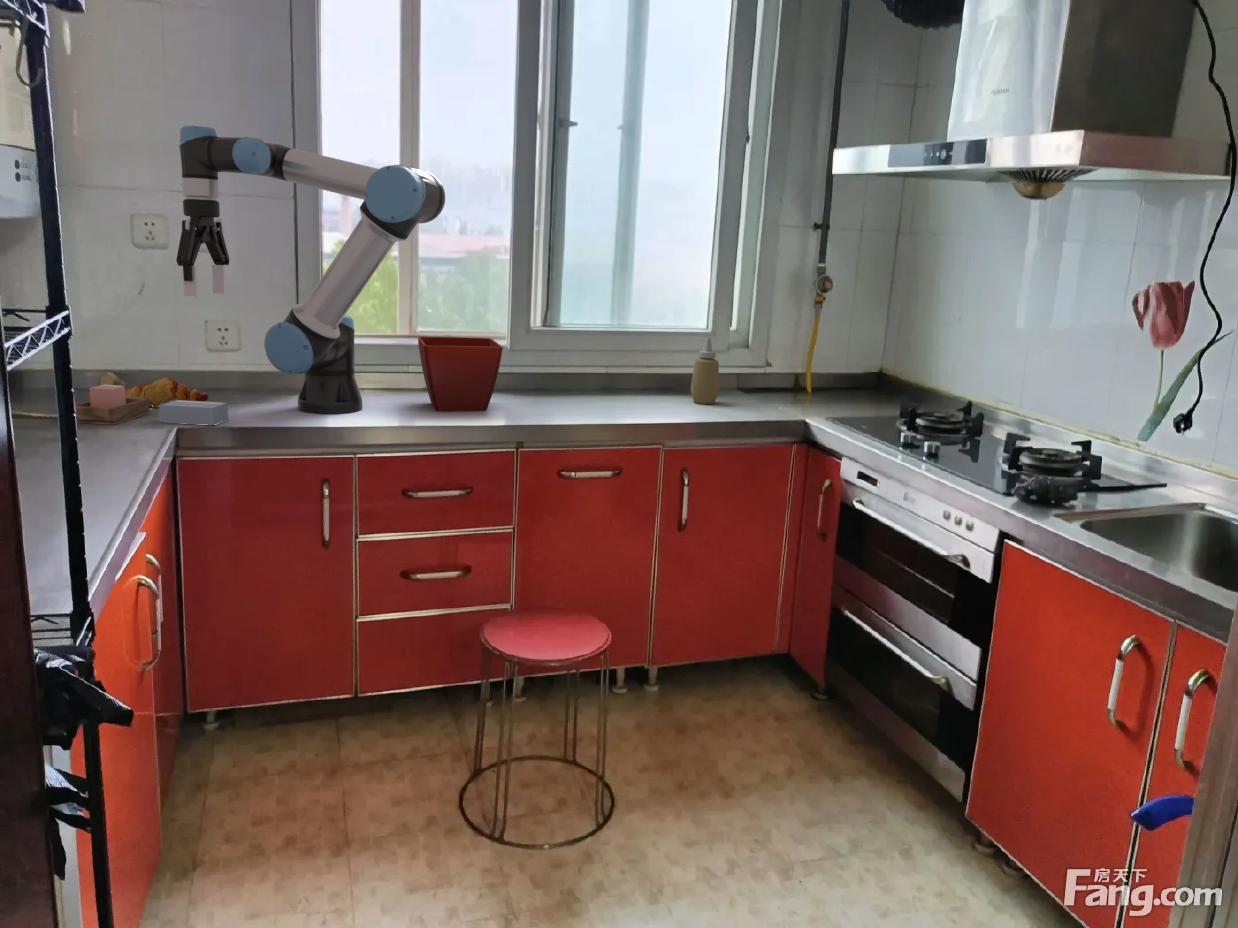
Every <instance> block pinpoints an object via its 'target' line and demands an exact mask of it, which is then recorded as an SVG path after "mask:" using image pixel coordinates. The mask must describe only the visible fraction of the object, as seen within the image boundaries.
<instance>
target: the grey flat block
mask: <svg viewBox="0 0 1238 928" xmlns="http://www.w3.org/2000/svg"><path fill="white" fill-rule="evenodd" d="M228 404H229V403H228V402H221V401H220V402H217V401H204V402H203V401H186V400H173V401H170V402H166V403H162V404H160V405H159V407H158V416H159V423H160V422H166V423H187V424H208V425H214V424H217V423H219V422H221V421H226V420H228V421H229V405H228ZM226 422H227V421H226ZM166 423H165V424H166Z"/></svg>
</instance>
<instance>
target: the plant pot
mask: <svg viewBox="0 0 1238 928" xmlns="http://www.w3.org/2000/svg"><path fill="white" fill-rule="evenodd" d="M417 342H418V343H417V344H418V349H419V359H420V364H421V369H422V373H423V377H424V383H425V386H426V390H427V394H428V396H429V400H430V403H431V405H432V407H433V408H434V410H435V411H437V412H483V411H484V412H485V411H487V410H488V407H489V404H490V402H491V399H492V397H493V392H494V390H495V386H496V383H497V379H498V375H499V370H500V366H501V365H500V364H501V361H502V355H503V349H504V348H503V346H502V345H501V344H500V343H498V342H497V341H495V340H494V339H493V338H490V337H458V336H457V337H456V336H418V337H417Z"/></svg>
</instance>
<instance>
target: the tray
mask: <svg viewBox="0 0 1238 928" xmlns="http://www.w3.org/2000/svg"><path fill="white" fill-rule="evenodd" d="M75 405H76V412H77V424H89V425H91V424H92V425H93V424H94V425H108V426H109V425H111V426H115V425H119V424H121V423H125V422H128V421H131V419H132V420H135V419H137V418H136V417H138V416H141V415H143V414H146V413H151V412H150V411H151V410H150V407H149V399H142V398H126V404H124V405H121V406H117V407H114V408H100V407H91V403H90V400H88V401H87V400H86V401H84V402H80V403H76V404H75ZM141 417H142V416H141ZM134 418H135V419H134ZM138 418H139V417H138ZM124 421H125V422H124Z"/></svg>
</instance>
